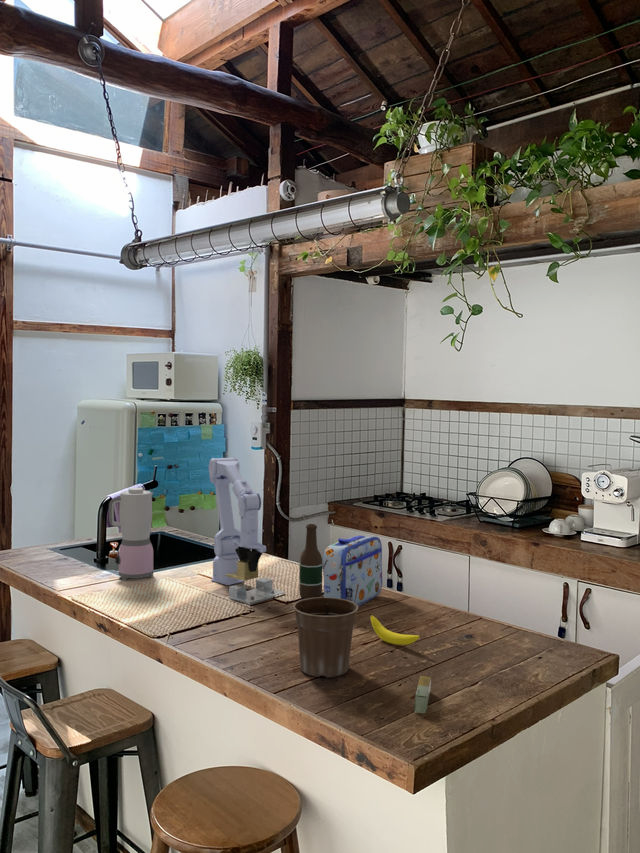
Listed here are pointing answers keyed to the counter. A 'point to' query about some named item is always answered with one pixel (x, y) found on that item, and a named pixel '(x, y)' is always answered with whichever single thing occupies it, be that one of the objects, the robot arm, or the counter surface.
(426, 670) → the counter surface
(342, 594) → the lunch box
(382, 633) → the banana
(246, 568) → the pale gold block
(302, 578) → the beer bottle
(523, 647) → the counter surface
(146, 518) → the blender
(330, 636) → the plant pot
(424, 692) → the medication box
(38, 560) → the counter surface
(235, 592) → the fixed leaf
